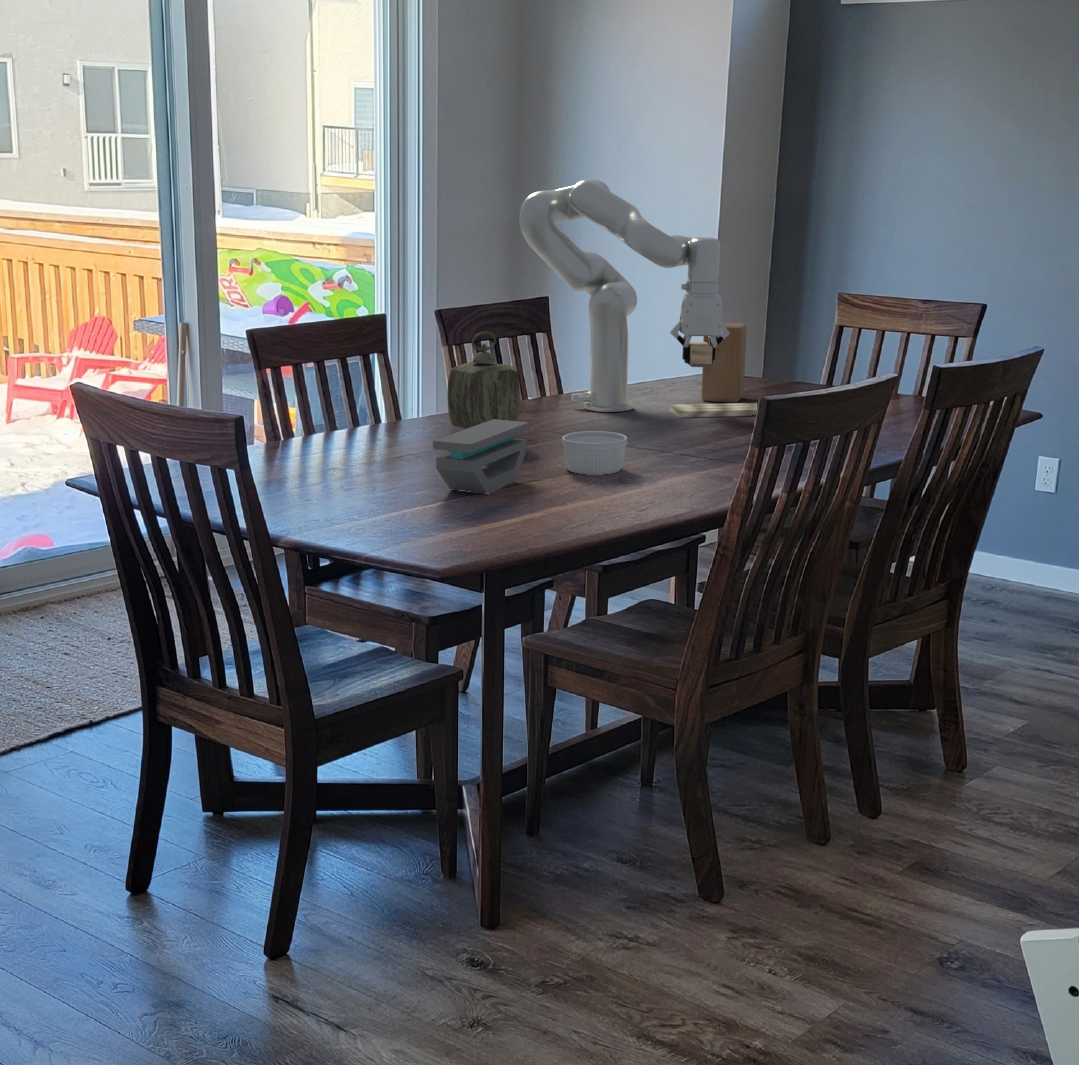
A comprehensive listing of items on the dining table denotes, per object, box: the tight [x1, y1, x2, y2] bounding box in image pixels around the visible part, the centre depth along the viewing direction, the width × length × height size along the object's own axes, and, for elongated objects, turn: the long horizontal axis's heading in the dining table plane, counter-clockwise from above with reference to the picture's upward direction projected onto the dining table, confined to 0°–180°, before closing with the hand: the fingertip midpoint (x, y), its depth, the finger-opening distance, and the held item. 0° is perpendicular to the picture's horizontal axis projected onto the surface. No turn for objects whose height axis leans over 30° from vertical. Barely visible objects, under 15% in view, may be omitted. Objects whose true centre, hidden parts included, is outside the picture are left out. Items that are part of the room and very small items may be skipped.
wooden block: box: [701, 322, 748, 403], centre depth 361 cm, size 10×10×20 cm
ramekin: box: [561, 430, 628, 476], centre depth 278 cm, size 13×13×7 cm
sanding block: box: [688, 341, 713, 368], centre depth 339 cm, size 9×5×5 cm, turn 3°
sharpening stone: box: [432, 419, 530, 494], centre depth 262 cm, size 25×8×11 cm, turn 155°
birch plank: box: [669, 402, 758, 418], centre depth 344 cm, size 24×10×2 cm, turn 98°
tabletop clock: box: [447, 330, 521, 430], centre depth 301 cm, size 14×9×25 cm, turn 134°
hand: (698, 362), depth 339 cm, fingers closed on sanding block, 5 cm apart
